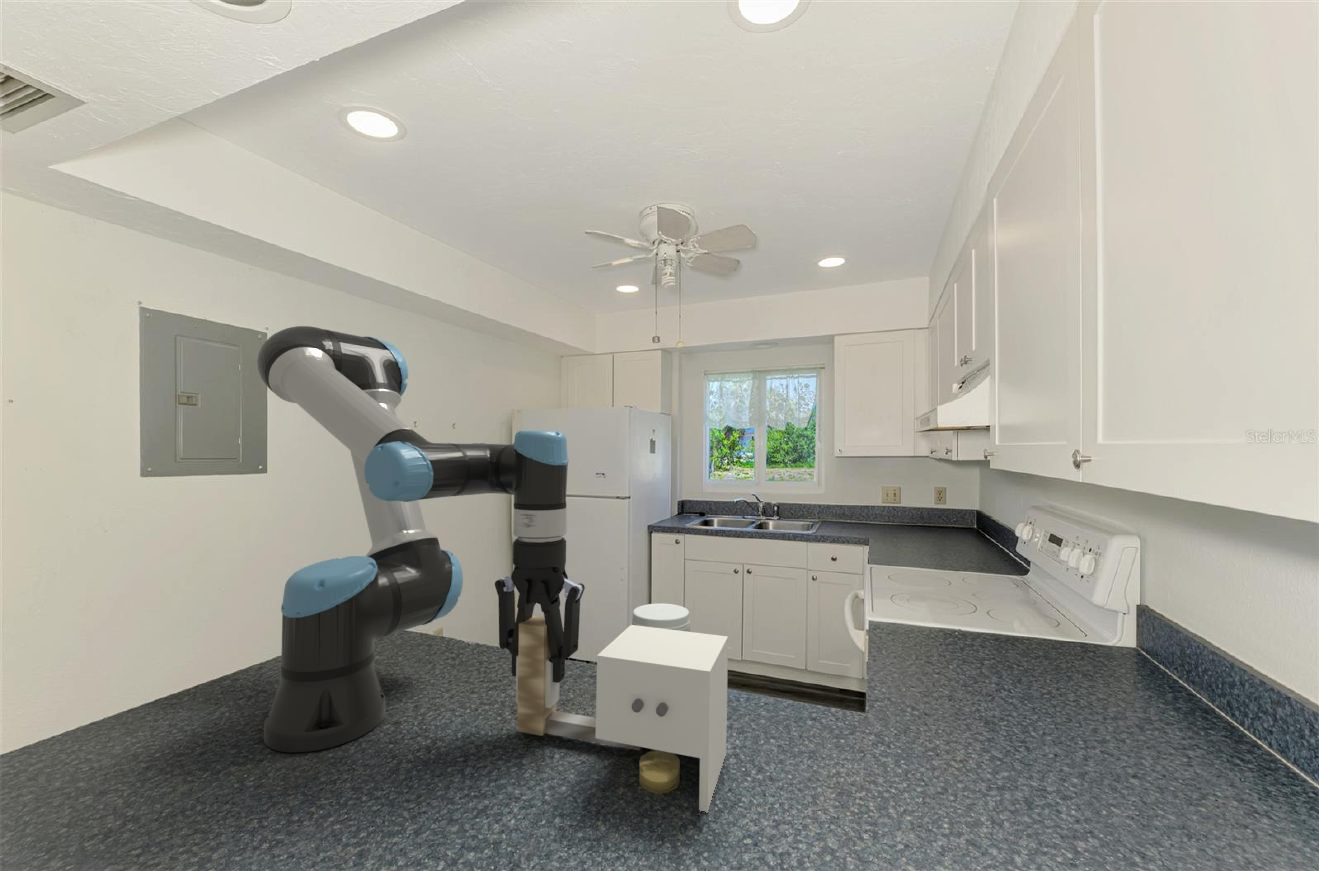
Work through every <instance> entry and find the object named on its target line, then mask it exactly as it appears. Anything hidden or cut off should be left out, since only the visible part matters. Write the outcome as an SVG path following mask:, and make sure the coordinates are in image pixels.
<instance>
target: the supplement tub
mask: <svg viewBox="0 0 1319 871" xmlns="http://www.w3.org/2000/svg"><path fill="white" fill-rule="evenodd" d="M631 621H632V623H631V625H637V626H645V627H653V628H662V629H670V630H678V631H686V632H691V620H690V611H689V610H688V609H687V608H686V607H684V606H682V605H678V604H673V603H661V602H660V603H649V604H643V605H640V606H637V607H635V609H633V612H632V620H631Z"/></svg>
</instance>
